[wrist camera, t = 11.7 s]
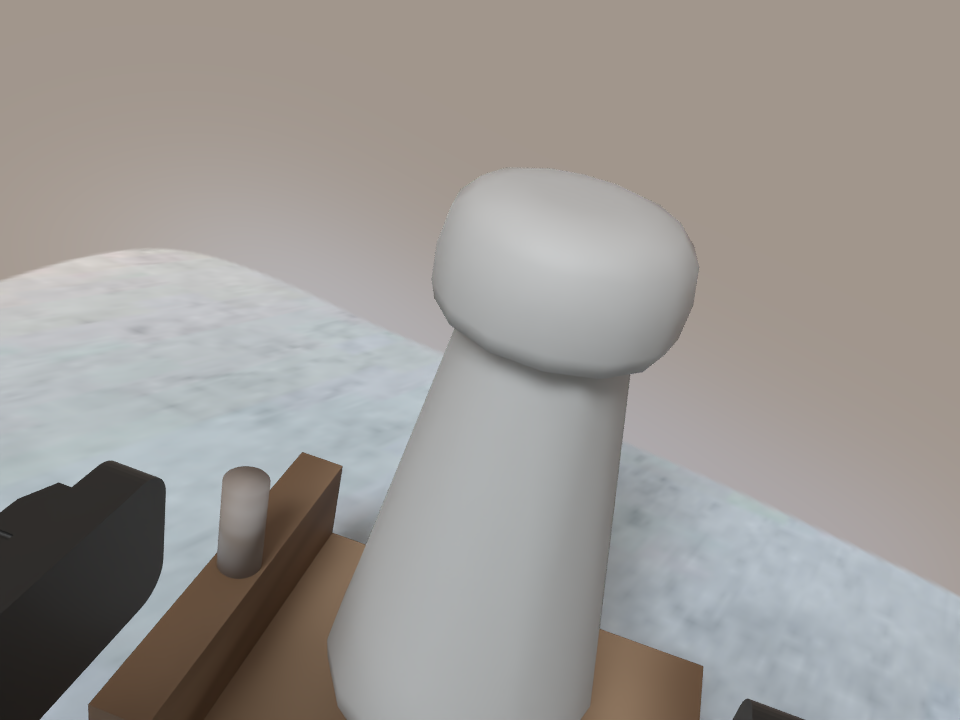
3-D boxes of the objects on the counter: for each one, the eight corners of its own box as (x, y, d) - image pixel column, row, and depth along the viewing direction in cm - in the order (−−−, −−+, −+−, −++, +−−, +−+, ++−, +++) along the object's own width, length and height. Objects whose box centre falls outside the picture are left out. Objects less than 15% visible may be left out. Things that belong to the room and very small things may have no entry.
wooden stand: (669, 738, 25) (767, 530, 21) (630, 1104, 17) (773, 881, 14) (284, 594, 27) (311, 378, 23) (92, 870, 19) (85, 612, 15)
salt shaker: (545, 635, 23) (703, 166, 17) (585, 848, 19) (829, 303, 12) (323, 617, 22) (403, 113, 16) (303, 838, 18) (407, 237, 11)
